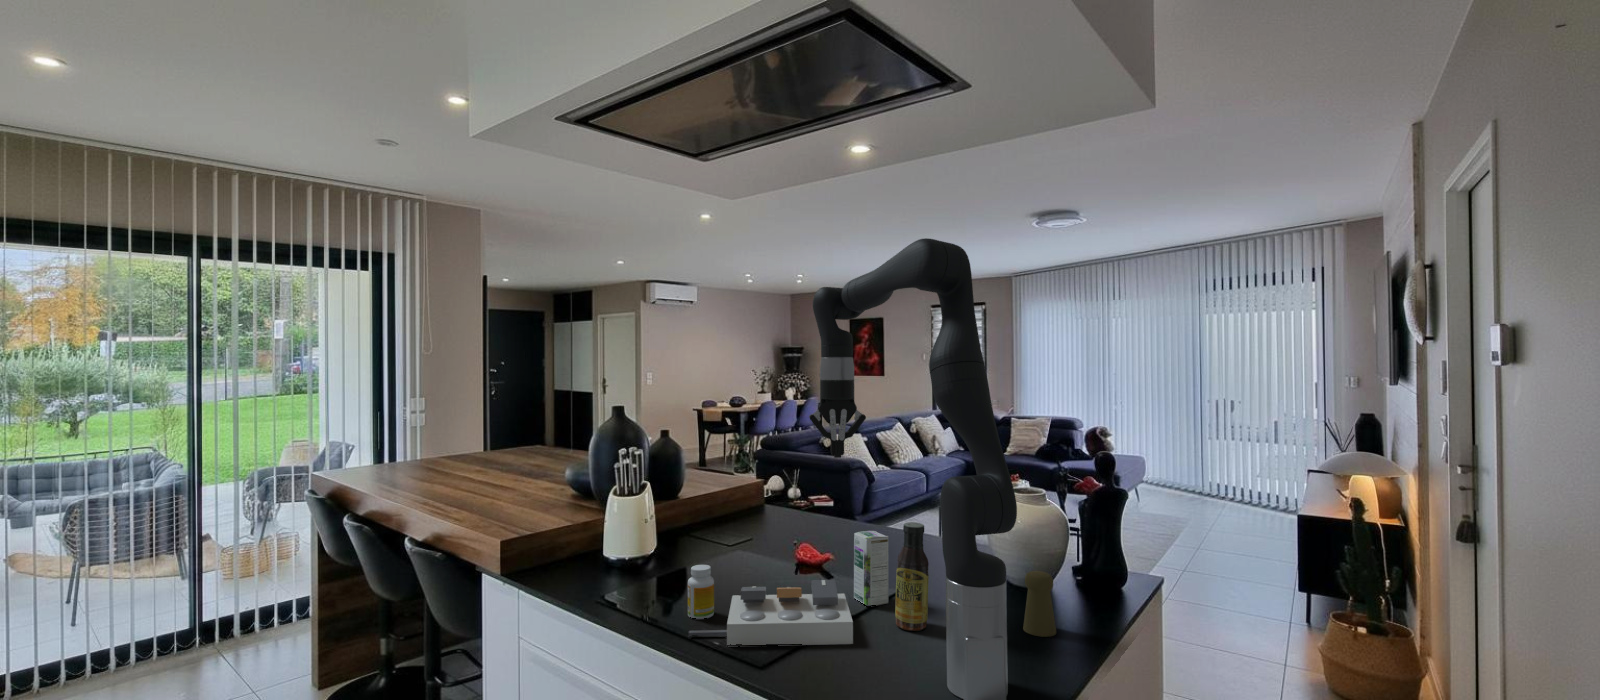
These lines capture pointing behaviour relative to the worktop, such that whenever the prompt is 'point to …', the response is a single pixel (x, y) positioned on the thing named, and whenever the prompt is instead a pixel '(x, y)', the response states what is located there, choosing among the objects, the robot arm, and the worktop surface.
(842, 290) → the robot arm
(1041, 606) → the yellow pepper mill
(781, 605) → the power strip
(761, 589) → the block
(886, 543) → the syrup box
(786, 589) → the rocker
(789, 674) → the worktop surface
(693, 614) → the supplement bottle
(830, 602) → the block
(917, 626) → the sauce bottle
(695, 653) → the worktop surface
